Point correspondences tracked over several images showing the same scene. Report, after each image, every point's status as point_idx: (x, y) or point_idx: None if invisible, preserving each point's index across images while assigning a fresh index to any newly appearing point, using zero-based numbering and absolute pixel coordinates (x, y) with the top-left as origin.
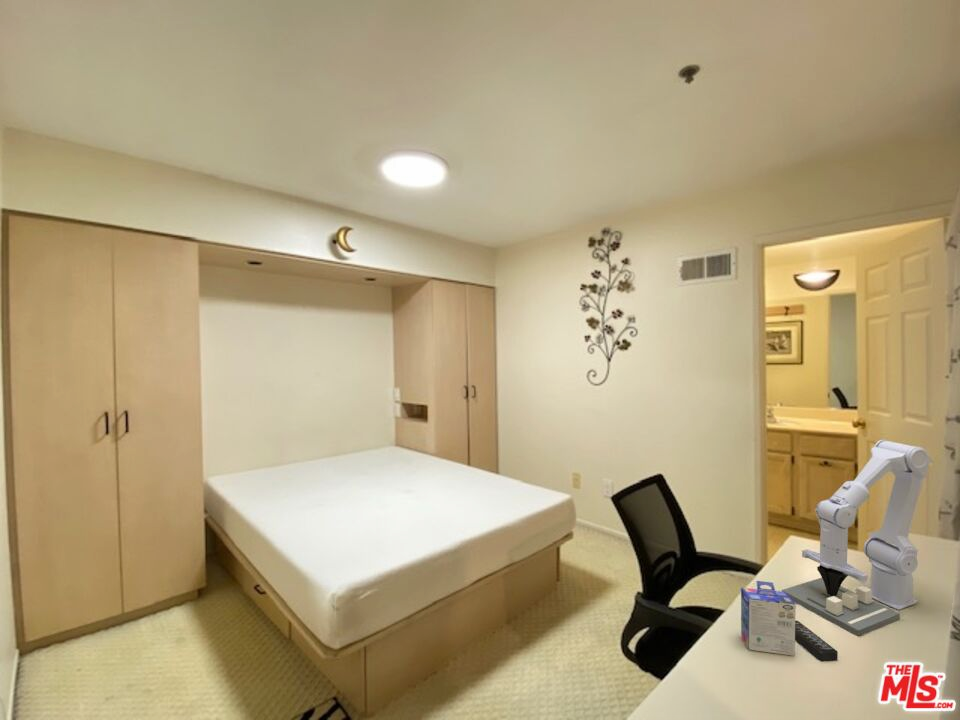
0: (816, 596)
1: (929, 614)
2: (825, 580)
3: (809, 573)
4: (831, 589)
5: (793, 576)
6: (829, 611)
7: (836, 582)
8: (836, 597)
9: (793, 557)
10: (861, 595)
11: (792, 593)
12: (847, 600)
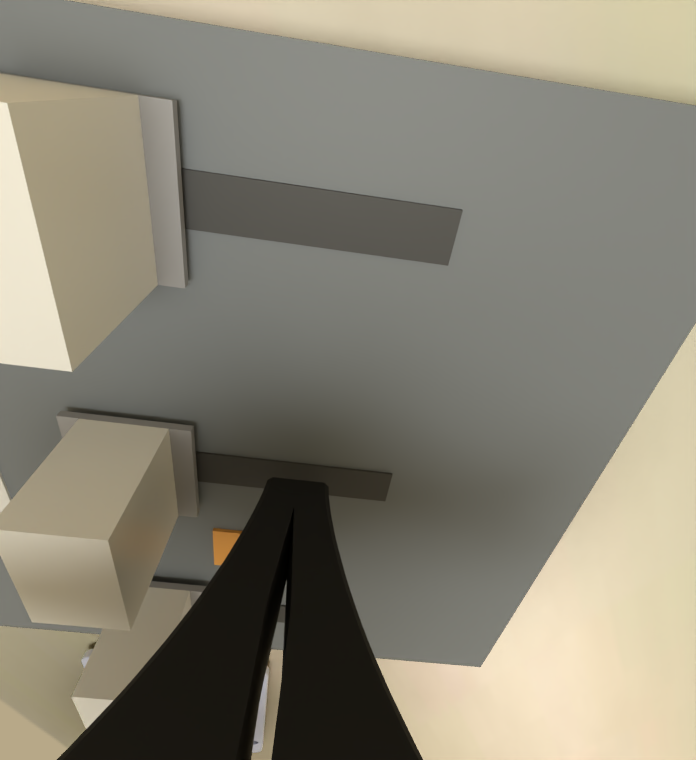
0: (400, 384)
1: (31, 694)
2: (322, 644)
3: (558, 659)
4: (257, 541)
5: (648, 573)
6: (84, 86)
7: (127, 694)
8: (19, 364)
9: (668, 727)
10: (128, 642)
11: (651, 178)
12: (72, 481)
